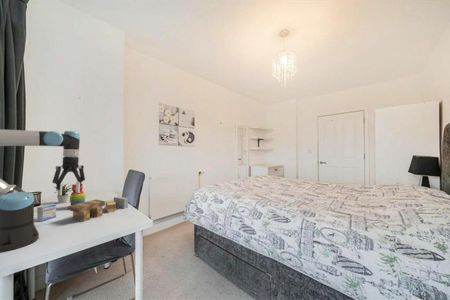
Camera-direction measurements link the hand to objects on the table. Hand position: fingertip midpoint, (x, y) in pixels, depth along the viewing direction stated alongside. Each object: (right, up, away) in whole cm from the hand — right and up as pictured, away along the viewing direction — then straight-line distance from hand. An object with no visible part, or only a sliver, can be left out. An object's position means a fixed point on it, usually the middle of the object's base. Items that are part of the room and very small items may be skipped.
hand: (68, 193), depth 114 cm
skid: (+11, -18, +24) cm, 31 cm away
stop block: (+14, -17, +31) cm, 38 cm away
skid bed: (+5, -18, +10) cm, 21 cm away
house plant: (-40, -17, +40) cm, 59 cm away
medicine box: (-19, -18, +6) cm, 27 cm away
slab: (+5, -12, +10) cm, 16 cm away
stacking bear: (-18, -18, +30) cm, 39 cm away
